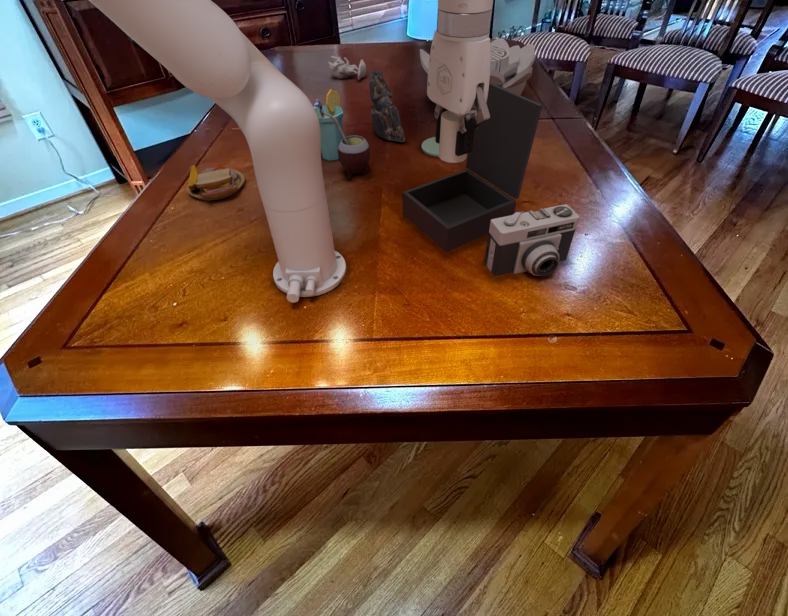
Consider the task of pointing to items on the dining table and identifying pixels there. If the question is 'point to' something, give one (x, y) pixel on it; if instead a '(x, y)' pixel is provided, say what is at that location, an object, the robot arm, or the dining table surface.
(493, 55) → the decorative bowl
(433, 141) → the saucer
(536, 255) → the camera
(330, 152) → the cup
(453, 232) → the hinged lid box
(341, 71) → the figurine
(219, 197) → the toy sandwich meal
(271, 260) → the dining table surface
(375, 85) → the statue
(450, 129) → the white cylinder
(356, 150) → the mate gourd
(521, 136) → the box lid
